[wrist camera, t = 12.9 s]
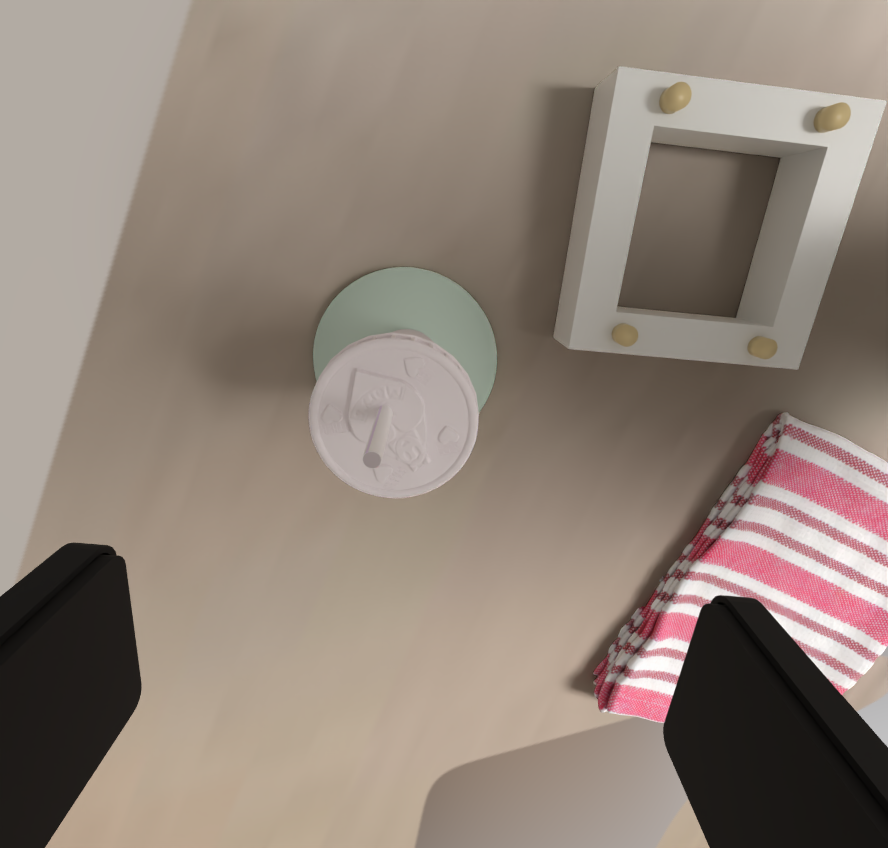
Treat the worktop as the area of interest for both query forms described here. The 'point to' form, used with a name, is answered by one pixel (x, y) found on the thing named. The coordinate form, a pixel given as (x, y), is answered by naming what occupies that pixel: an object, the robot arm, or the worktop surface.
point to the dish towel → (772, 567)
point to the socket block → (783, 229)
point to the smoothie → (394, 415)
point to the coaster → (411, 320)
